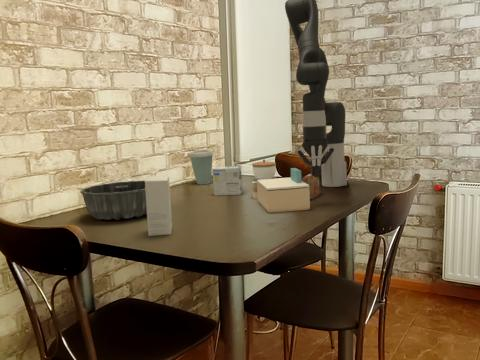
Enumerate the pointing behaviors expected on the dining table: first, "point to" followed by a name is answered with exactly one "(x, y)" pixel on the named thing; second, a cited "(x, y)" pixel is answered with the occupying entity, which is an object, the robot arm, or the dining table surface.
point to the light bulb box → (227, 180)
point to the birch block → (254, 189)
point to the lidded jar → (264, 170)
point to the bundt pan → (116, 200)
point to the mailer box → (284, 199)
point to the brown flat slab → (312, 185)
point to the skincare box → (158, 205)
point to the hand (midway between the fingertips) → (315, 176)
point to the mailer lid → (284, 181)
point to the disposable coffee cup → (202, 165)
